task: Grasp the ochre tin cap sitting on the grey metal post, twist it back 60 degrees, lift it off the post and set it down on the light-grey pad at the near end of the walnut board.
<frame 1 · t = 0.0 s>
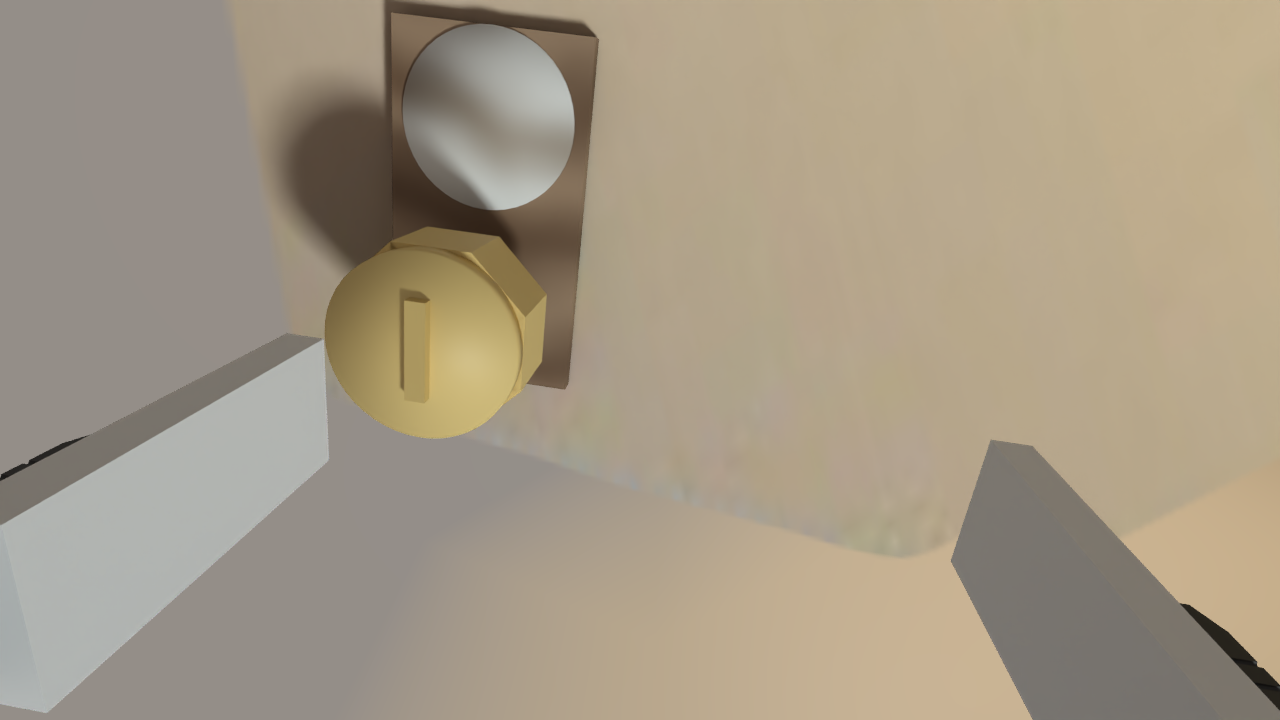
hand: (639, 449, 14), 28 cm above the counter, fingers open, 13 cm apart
post board: (490, 213, 41), on the counter
cap: (460, 316, 38), point 5 cm above the counter, touching post board
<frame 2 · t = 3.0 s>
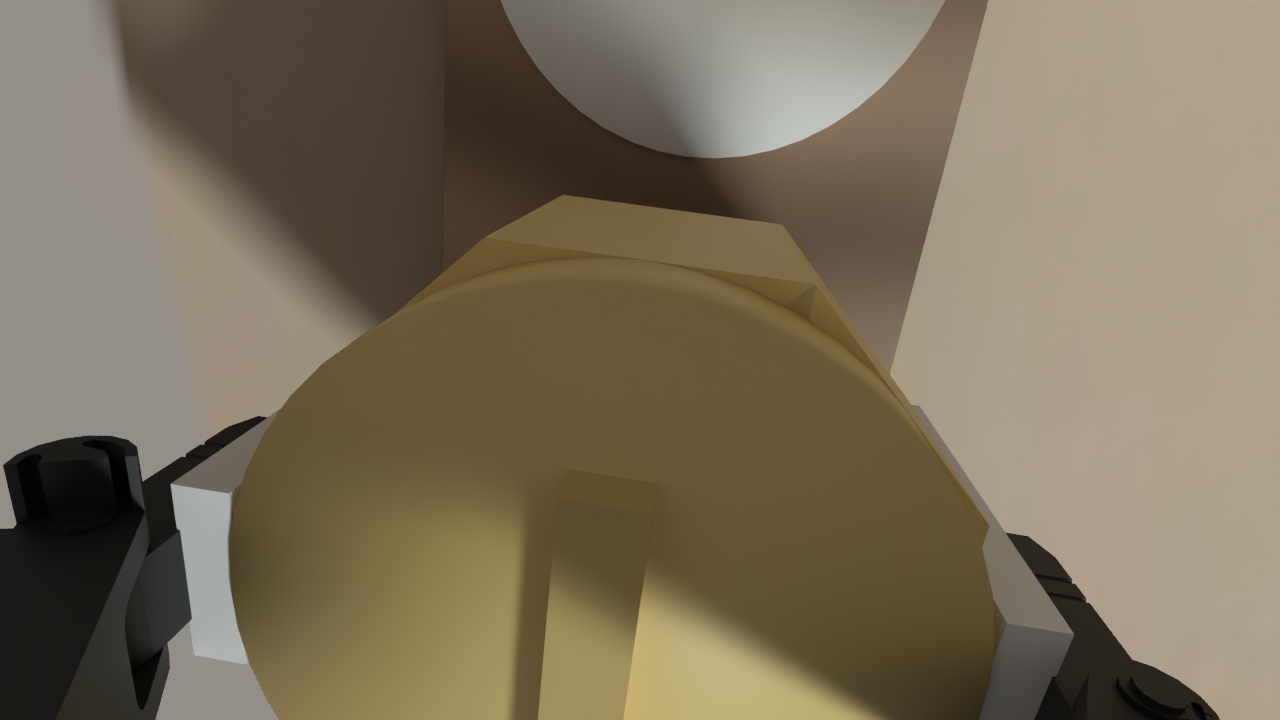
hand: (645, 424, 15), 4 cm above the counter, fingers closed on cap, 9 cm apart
post board: (685, 170, 16), on the counter
cap: (640, 446, 14), point 5 cm above the counter, touching gripper, post board
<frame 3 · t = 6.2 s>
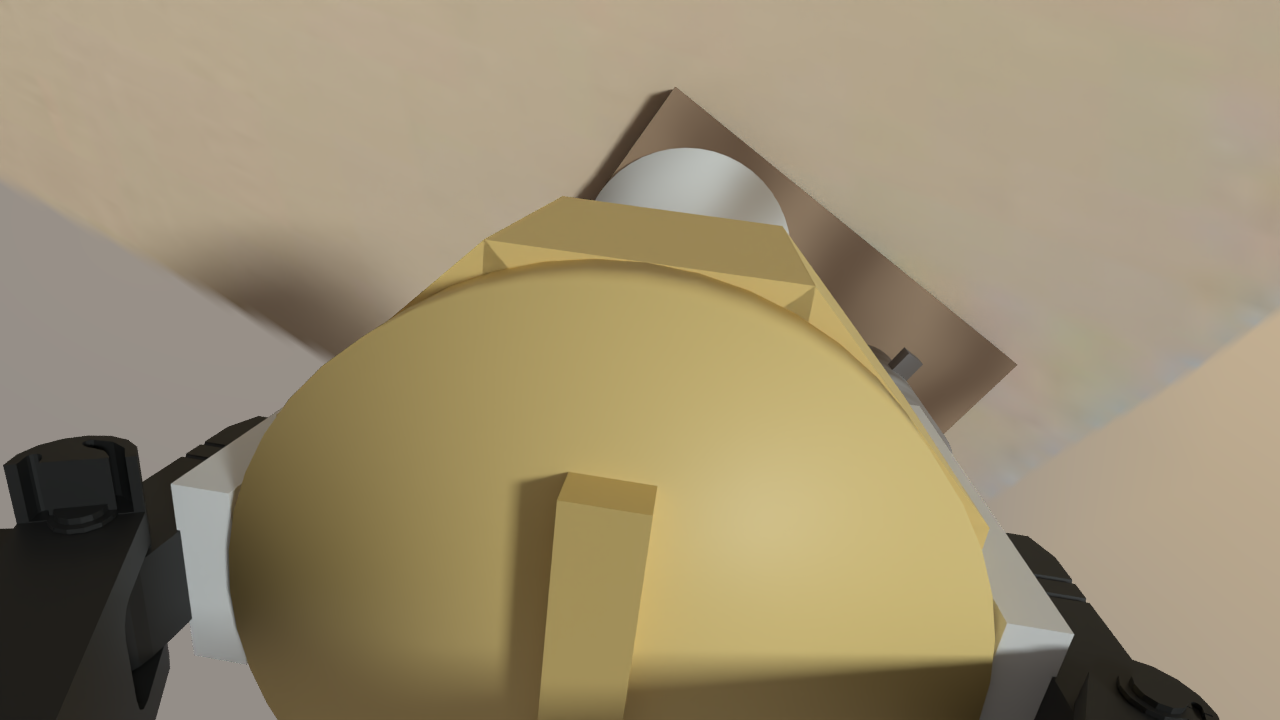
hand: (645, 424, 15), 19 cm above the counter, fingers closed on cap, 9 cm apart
post board: (769, 318, 33), on the counter
cap: (640, 447, 14), point 20 cm above the counter, touching gripper
when the fingers open (2 cm above the counter, at t = 9.9 s): cap drops 2 cm, resting on post board.
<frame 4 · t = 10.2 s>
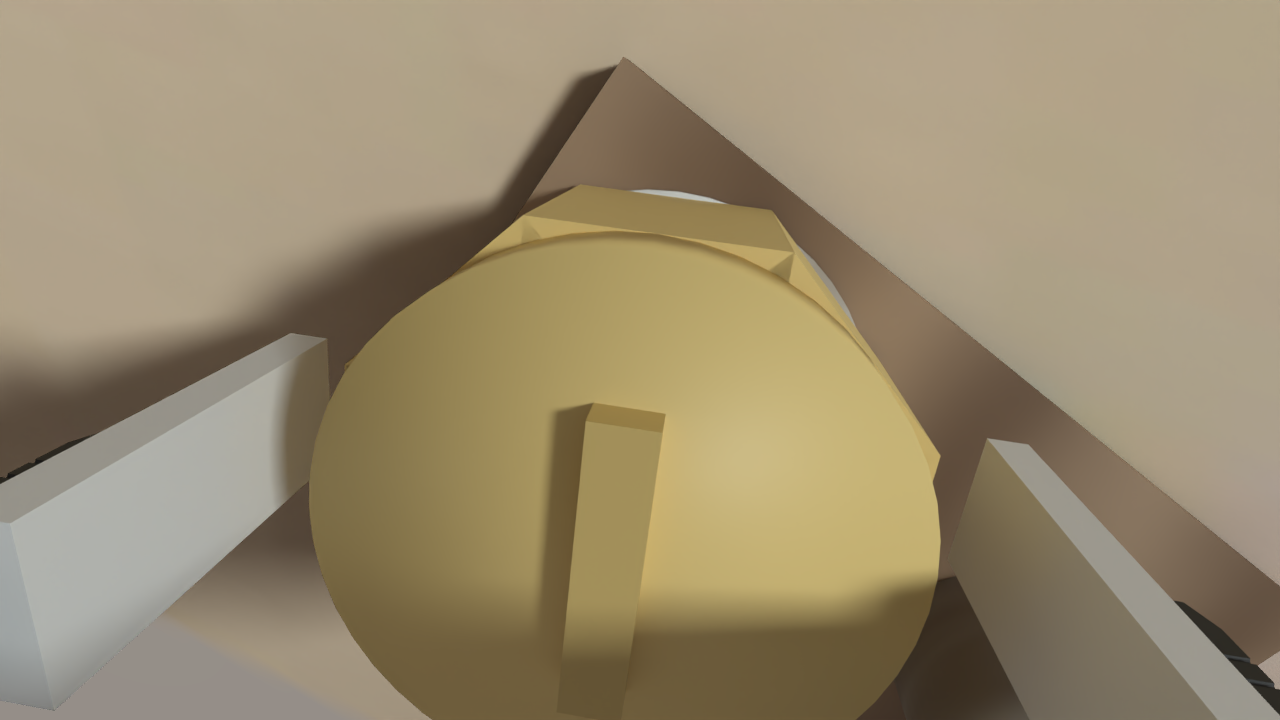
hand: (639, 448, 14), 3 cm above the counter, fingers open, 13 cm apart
post board: (818, 510, 17), on the counter
cap: (647, 408, 16), point 1 cm above the counter, touching post board
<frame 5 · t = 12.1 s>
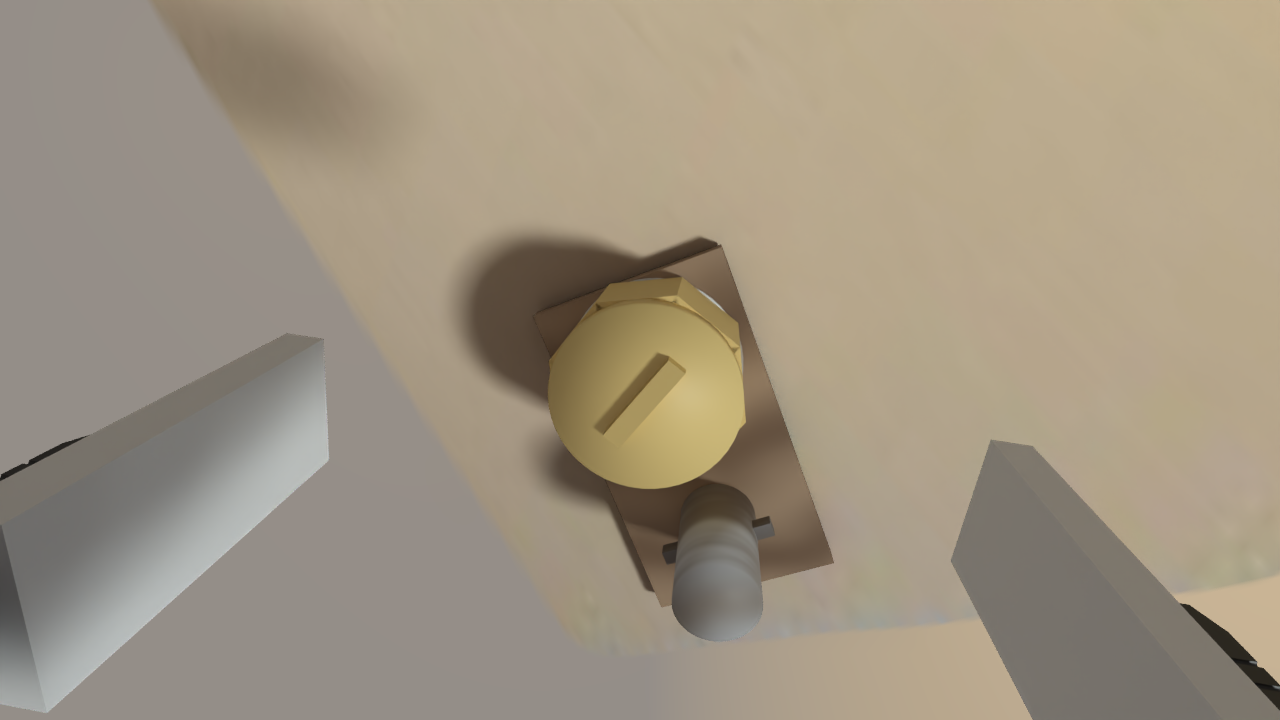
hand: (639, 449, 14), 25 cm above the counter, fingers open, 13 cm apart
post board: (689, 436, 41), on the counter
cap: (655, 363, 38), point 1 cm above the counter, touching post board
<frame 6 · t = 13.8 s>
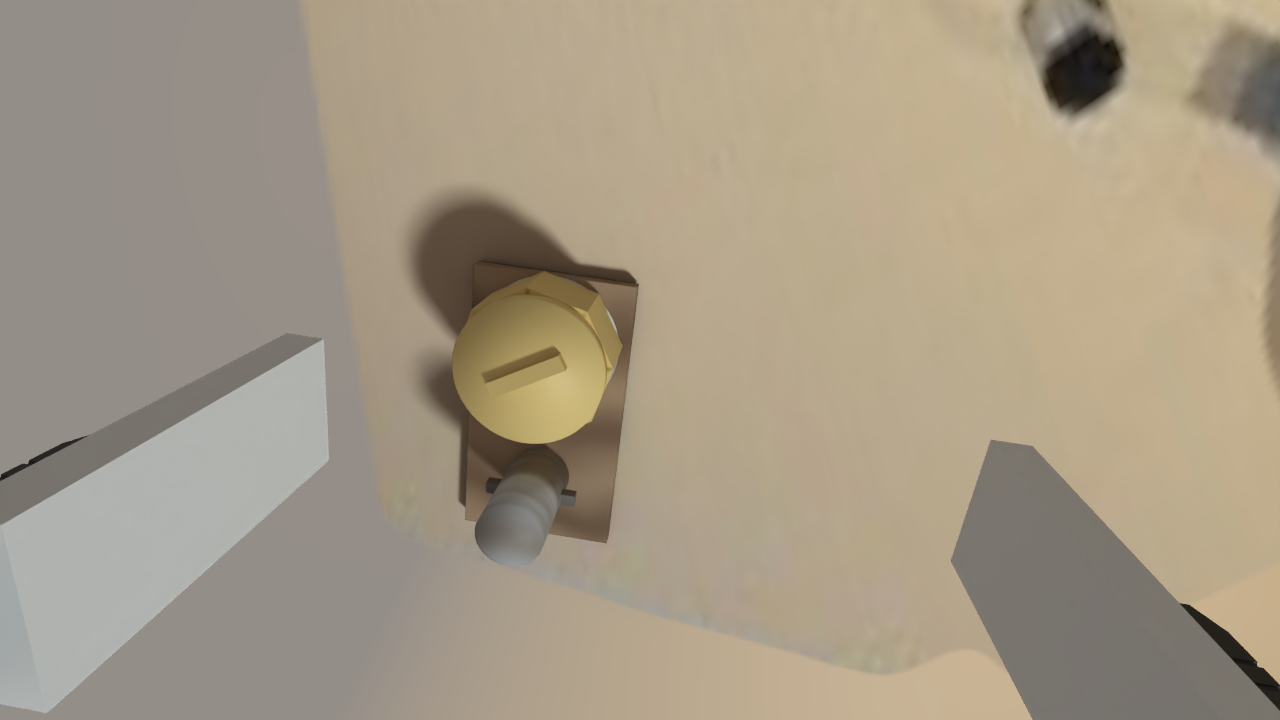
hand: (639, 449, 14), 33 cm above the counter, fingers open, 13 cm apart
post board: (547, 407, 50), on the counter
cap: (548, 344, 47), point 1 cm above the counter, touching post board
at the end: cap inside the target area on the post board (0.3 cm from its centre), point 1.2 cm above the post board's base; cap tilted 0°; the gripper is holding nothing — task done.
